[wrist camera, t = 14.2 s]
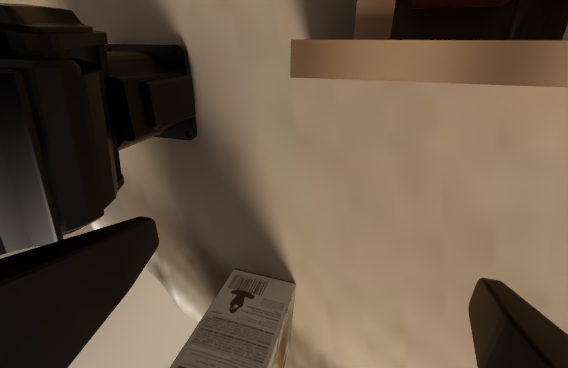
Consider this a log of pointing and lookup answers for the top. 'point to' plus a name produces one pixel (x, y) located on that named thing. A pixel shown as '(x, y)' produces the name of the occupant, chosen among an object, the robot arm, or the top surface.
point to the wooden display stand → (427, 56)
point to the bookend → (540, 20)
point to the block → (456, 3)
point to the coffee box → (243, 326)
